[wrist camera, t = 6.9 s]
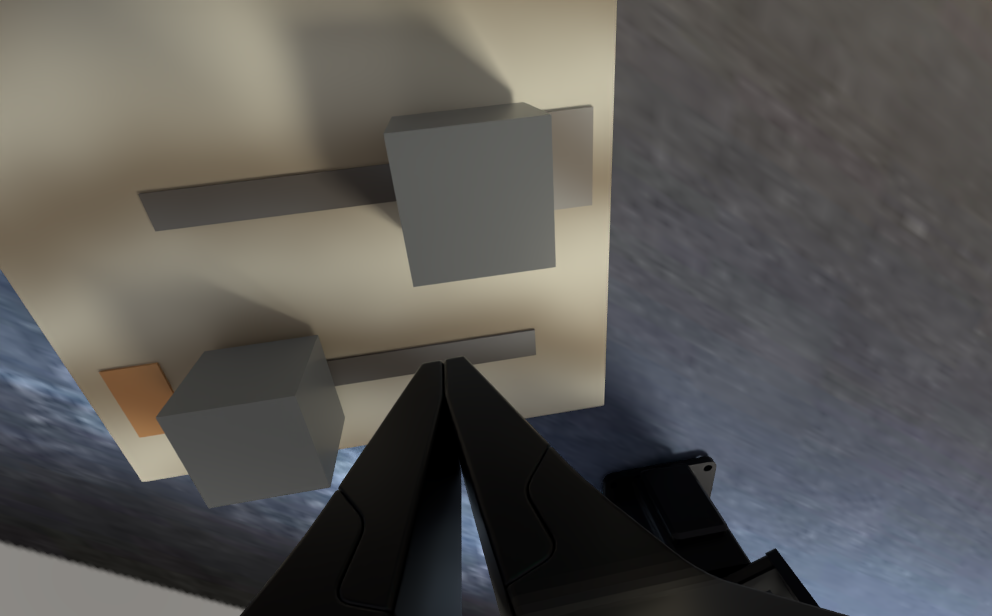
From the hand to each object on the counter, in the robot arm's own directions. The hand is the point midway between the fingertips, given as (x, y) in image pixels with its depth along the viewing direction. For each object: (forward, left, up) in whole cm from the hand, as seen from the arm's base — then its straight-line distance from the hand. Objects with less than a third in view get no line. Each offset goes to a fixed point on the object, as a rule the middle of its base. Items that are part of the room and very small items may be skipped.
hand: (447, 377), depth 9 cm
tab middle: (+2, -1, -8) cm, 8 cm away
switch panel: (+2, +4, -10) cm, 11 cm away
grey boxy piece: (-5, +7, -8) cm, 11 cm away
